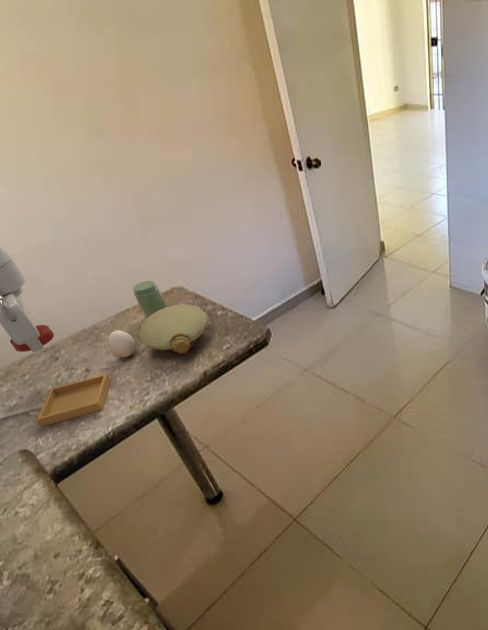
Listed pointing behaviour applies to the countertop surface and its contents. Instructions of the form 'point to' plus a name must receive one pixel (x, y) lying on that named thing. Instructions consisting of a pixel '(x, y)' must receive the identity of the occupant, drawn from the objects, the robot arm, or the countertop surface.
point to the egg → (121, 343)
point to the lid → (44, 338)
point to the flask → (174, 328)
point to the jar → (149, 297)
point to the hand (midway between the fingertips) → (34, 341)
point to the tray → (74, 400)
